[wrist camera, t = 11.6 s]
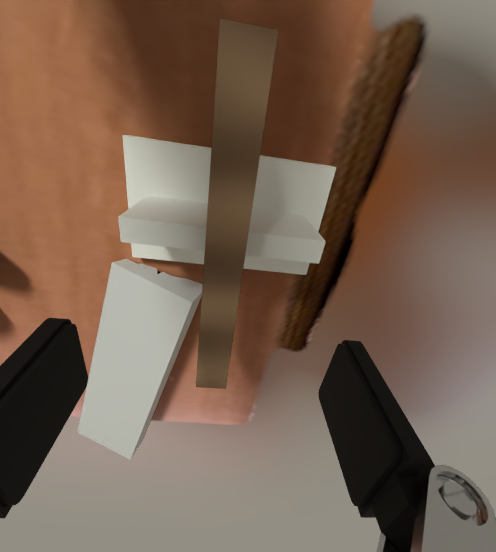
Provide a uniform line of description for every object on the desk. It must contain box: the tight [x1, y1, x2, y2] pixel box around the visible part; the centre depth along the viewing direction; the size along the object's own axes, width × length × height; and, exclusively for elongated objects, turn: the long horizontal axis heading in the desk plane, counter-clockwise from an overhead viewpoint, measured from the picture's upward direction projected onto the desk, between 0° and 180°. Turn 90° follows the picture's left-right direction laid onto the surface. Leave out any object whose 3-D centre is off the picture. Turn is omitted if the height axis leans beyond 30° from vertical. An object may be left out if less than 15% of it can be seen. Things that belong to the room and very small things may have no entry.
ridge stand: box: [118, 135, 336, 275], centre depth 24 cm, size 12×20×9 cm, turn 82°
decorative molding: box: [78, 259, 203, 459], centre depth 38 cm, size 34×5×10 cm
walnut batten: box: [196, 18, 278, 389], centre depth 19 cm, size 24×3×4 cm, turn 172°
